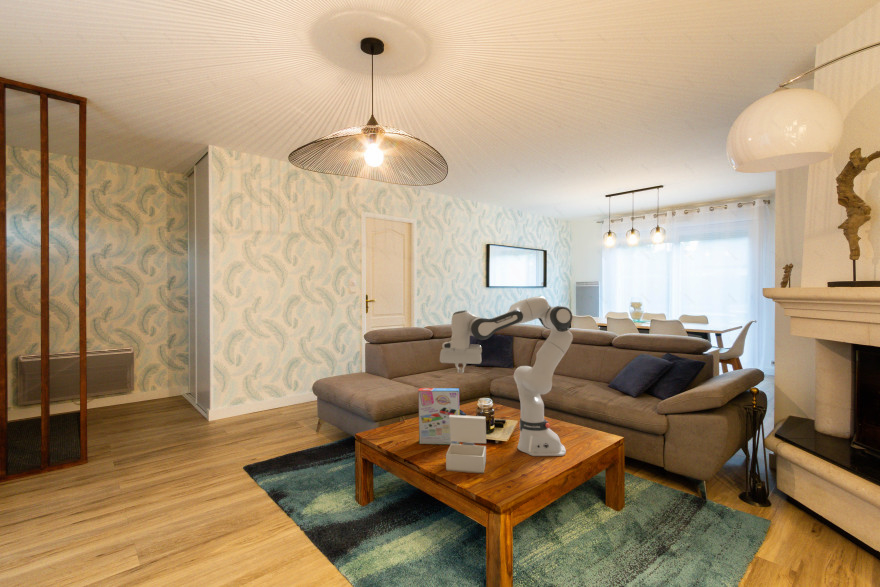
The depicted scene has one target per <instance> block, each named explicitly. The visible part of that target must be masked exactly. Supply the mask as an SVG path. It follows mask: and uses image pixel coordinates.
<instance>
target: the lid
mask: <svg viewBox="0 0 880 587" xmlns="http://www.w3.org/2000/svg"><path fill="white" fill-rule="evenodd" d="M449 418H450V438H451V441H456V442H460V443H462V445H475V444H487V423H486V422H487V421H486V420H487V419H486V416H483V415H467V414H466V415H449Z"/></svg>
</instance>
